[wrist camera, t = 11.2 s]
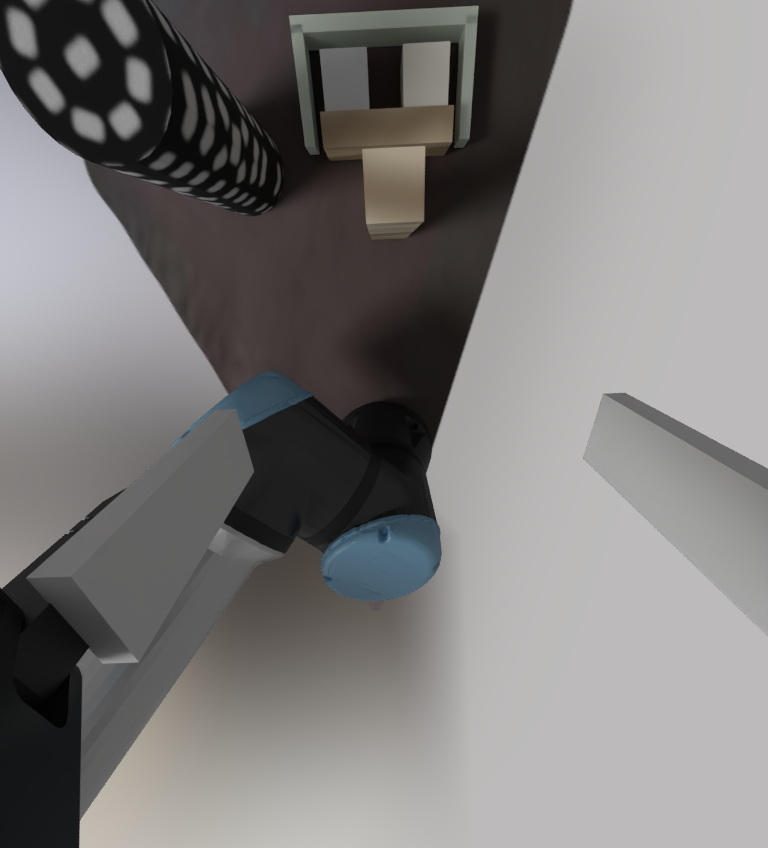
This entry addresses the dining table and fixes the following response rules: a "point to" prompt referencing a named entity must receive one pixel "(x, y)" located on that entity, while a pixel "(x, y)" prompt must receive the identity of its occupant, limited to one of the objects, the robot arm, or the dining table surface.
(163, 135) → the spotted tube
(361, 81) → the gray cube
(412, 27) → the bay
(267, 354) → the dining table surface
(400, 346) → the dining table surface
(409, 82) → the off-white cube
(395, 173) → the cream t-shaped block
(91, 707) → the robot arm
